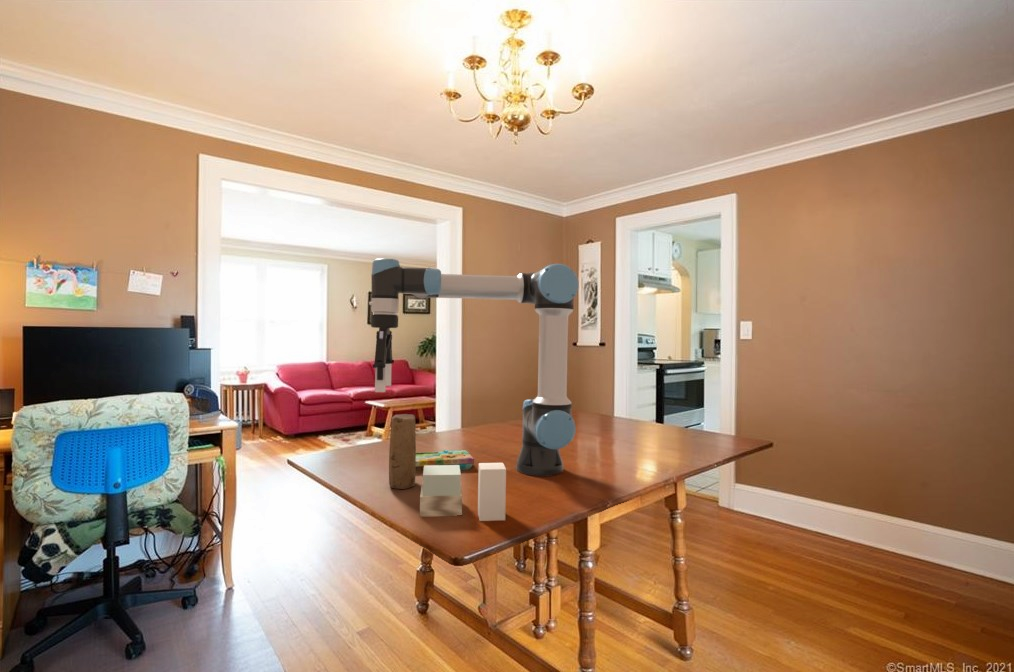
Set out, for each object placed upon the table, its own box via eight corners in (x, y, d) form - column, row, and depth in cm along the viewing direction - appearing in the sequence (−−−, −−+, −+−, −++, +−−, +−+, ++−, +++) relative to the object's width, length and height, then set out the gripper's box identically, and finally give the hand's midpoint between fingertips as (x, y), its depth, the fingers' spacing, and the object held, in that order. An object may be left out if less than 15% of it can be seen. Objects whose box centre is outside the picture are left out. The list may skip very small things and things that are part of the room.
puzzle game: (474, 456, 160) (411, 459, 155) (473, 470, 160) (411, 474, 155) (467, 448, 172) (408, 450, 166) (466, 461, 172) (408, 464, 166)
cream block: (502, 511, 123) (502, 462, 123) (505, 520, 117) (506, 469, 117) (477, 512, 122) (478, 463, 122) (479, 521, 116) (480, 469, 116)
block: (415, 489, 138) (416, 418, 138) (387, 491, 137) (389, 418, 137) (415, 478, 149) (416, 412, 149) (389, 479, 148) (390, 412, 148)
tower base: (460, 502, 129) (460, 483, 129) (461, 516, 119) (462, 495, 119) (421, 503, 128) (421, 484, 128) (419, 517, 118) (420, 496, 118)
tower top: (458, 484, 129) (459, 465, 129) (460, 495, 120) (460, 474, 120) (423, 485, 127) (424, 465, 127) (422, 496, 118) (422, 475, 118)
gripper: (377, 314, 153) (376, 383, 153) (363, 312, 128) (362, 394, 128) (402, 315, 153) (401, 383, 154) (393, 313, 129) (392, 394, 129)
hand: (383, 388), depth 141 cm, fingers open, 13 cm apart
